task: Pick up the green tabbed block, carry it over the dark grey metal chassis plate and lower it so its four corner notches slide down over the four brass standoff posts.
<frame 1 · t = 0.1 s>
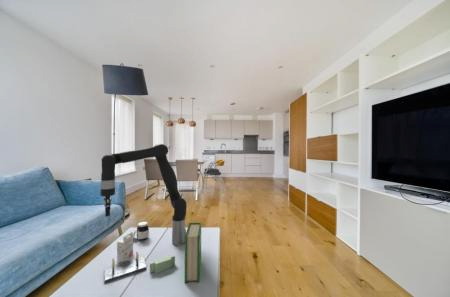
hand: (107, 214, 110), 29 cm above the table, fingers open, 8 cm apart
chassis: (125, 269, 103), on the table
hardback book: (193, 271, 103), on the table
green tabbed block: (162, 268, 105), on the table
ink cartridge box: (125, 257, 116), on the table
spread jar: (139, 239, 141), on the table
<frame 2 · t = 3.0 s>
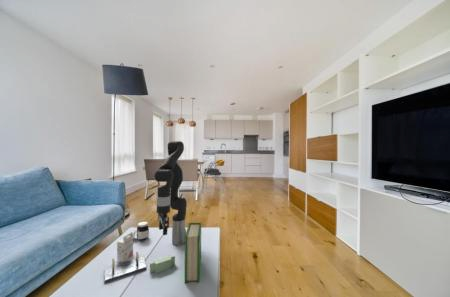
hand: (162, 231, 106), 21 cm above the table, fingers open, 8 cm apart
nothing on the table moved.
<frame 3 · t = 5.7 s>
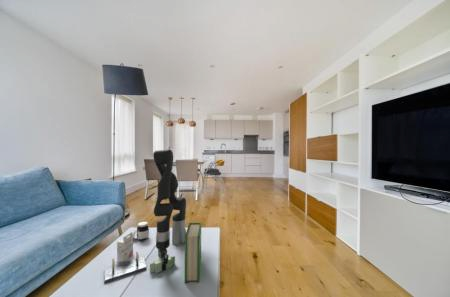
hand: (162, 267, 105), 0 cm above the table, fingers closed on green tabbed block, 4 cm apart
green tabbed block: (162, 268, 105), on the table, touching gripper
everything else where it was.
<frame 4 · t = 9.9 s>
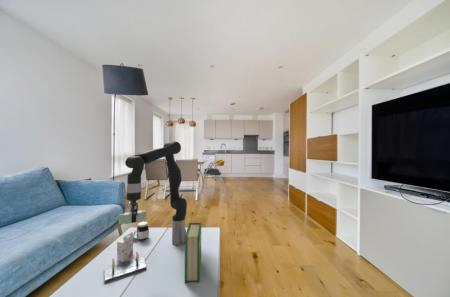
hand: (133, 220, 104), 28 cm above the table, fingers closed on green tabbed block, 4 cm apart
green tabbed block: (132, 221, 104), point 27 cm above the table, touching gripper
everything else where it was.
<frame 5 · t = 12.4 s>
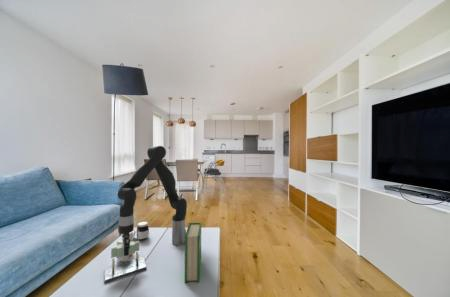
hand: (125, 253, 104), 10 cm above the table, fingers closed on green tabbed block, 4 cm apart
green tabbed block: (125, 253, 104), point 9 cm above the table, touching gripper
everything else where it was.
when the fingers open (3 cm above the table, at t = 14.4 s): green tabbed block stays where it is, resting on chassis.
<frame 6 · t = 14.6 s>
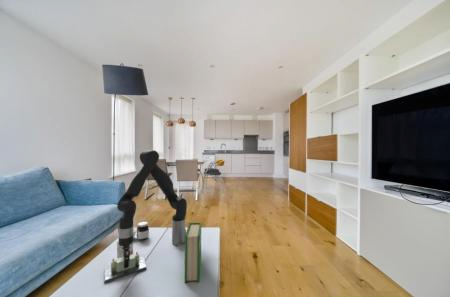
hand: (125, 264, 104), 3 cm above the table, fingers open, 6 cm apart
green tabbed block: (125, 267, 103), point 1 cm above the table, touching chassis
everything else where it was.
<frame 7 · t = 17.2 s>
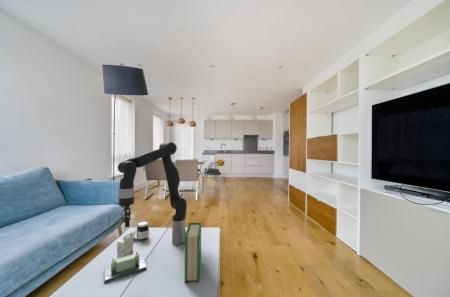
hand: (126, 224, 104), 26 cm above the table, fingers open, 8 cm apart
nothing on the table moved.
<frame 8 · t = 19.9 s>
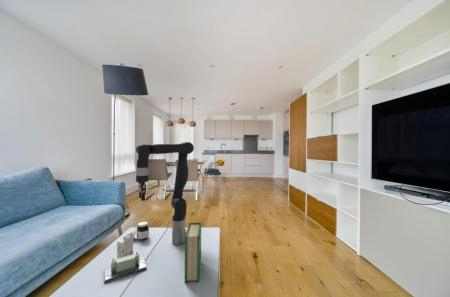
hand: (141, 199, 120), 36 cm above the table, fingers open, 8 cm apart
nothing on the table moved.
at the end: green tabbed block 0.0 cm off-centre on the chassis, point 1.5 cm above the chassis's base; green tabbed block tilted 0°; the gripper is holding nothing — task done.
